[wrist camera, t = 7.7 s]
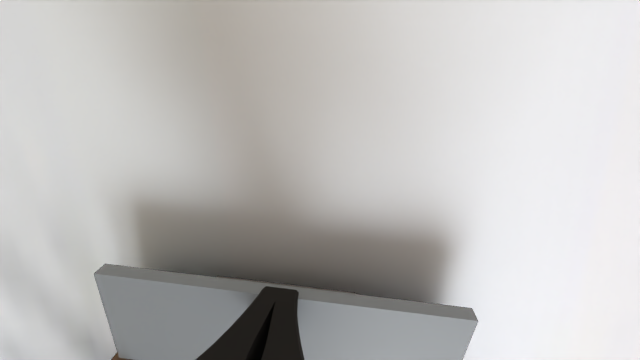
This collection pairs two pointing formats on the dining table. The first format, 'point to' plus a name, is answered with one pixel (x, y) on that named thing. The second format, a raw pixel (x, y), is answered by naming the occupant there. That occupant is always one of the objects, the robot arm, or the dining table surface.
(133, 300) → the panel
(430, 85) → the dining table surface
